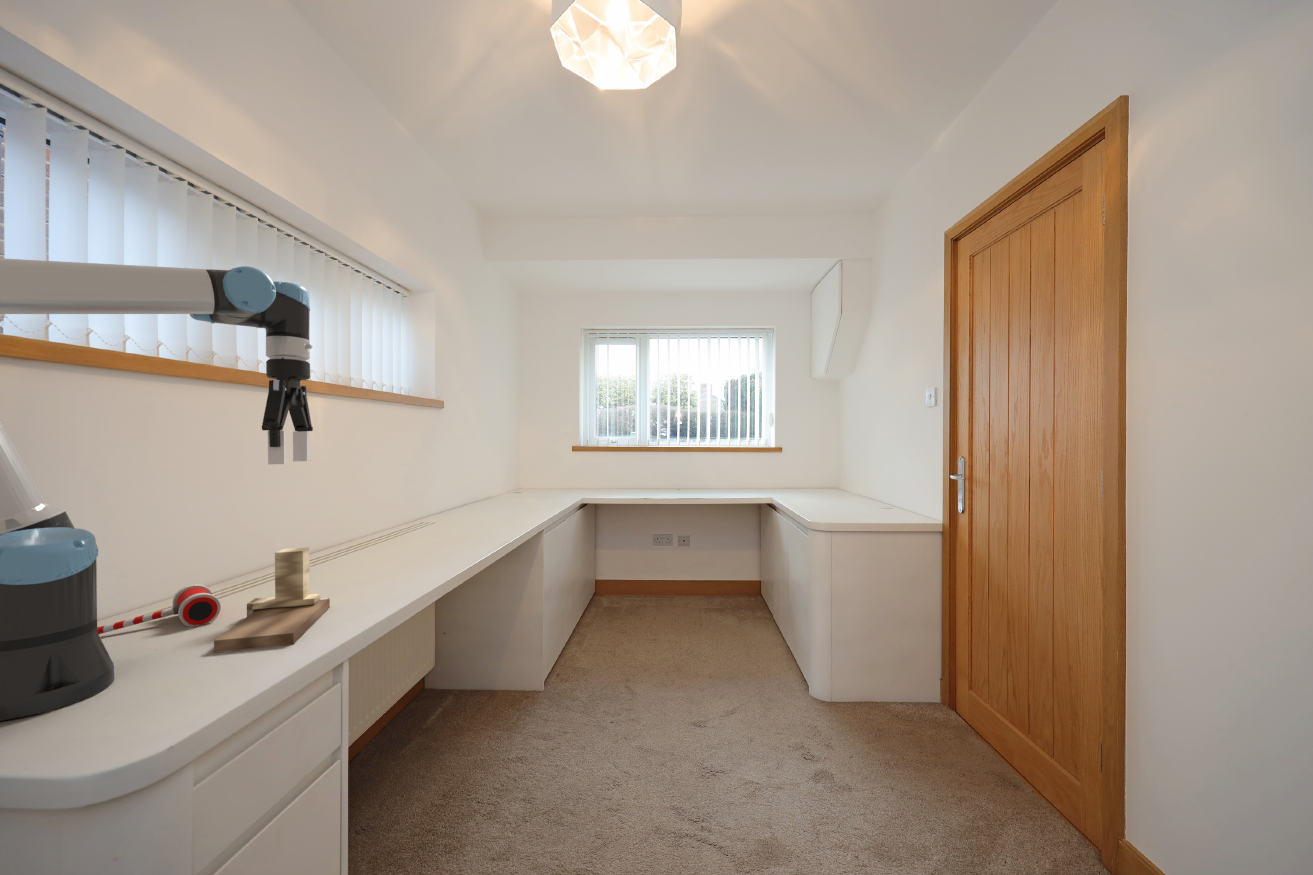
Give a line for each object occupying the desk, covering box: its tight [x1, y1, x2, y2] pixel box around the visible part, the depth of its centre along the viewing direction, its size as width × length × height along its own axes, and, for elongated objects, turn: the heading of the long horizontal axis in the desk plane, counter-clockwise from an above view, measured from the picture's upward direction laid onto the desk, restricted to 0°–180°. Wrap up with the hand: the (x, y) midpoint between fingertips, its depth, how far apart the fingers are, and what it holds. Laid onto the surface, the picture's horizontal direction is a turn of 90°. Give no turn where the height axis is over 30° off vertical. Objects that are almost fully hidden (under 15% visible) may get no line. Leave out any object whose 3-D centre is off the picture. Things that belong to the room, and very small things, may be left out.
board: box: [213, 598, 331, 653], centre depth 107 cm, size 12×22×2 cm, turn 16°
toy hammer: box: [97, 583, 222, 635], centre depth 107 cm, size 23×12×6 cm, turn 136°
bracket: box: [246, 546, 321, 617], centre depth 114 cm, size 12×4×13 cm, turn 106°
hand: (289, 462), depth 114 cm, fingers open, 13 cm apart
